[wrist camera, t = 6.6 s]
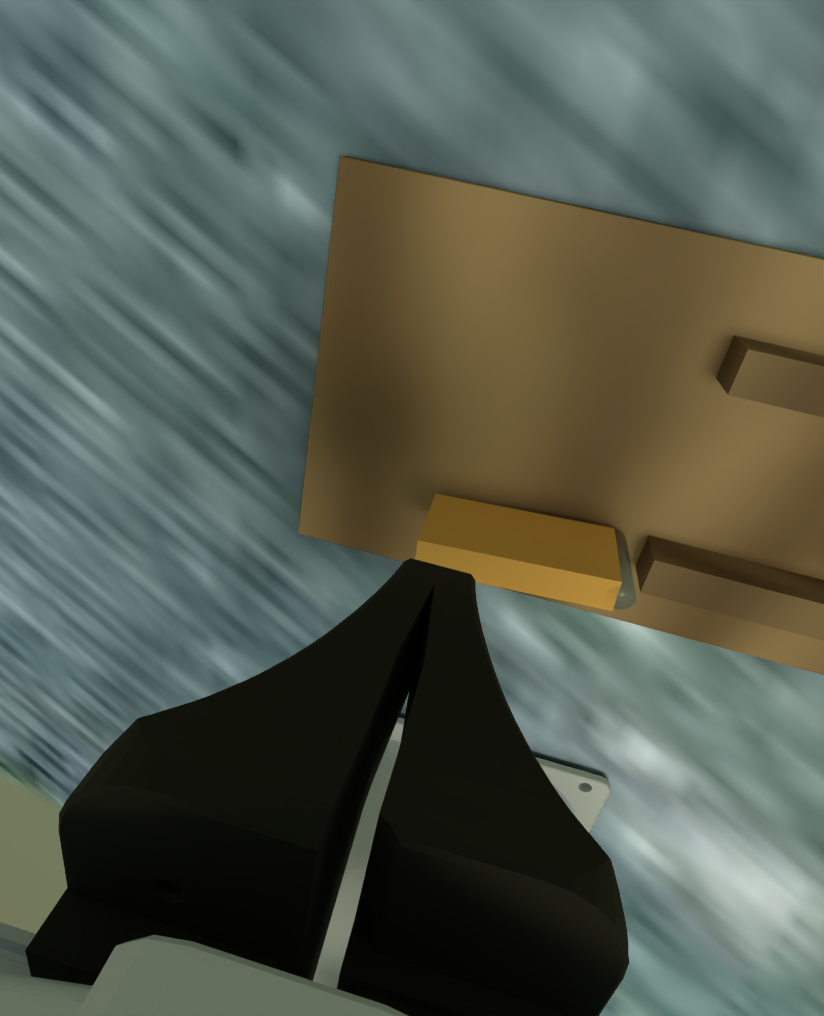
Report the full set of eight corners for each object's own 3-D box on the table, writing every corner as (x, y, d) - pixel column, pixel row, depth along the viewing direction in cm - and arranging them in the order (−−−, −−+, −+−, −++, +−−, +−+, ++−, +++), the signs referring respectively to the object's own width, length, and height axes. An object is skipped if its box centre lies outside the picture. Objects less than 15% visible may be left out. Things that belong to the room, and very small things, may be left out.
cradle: (306, 522, 24) (282, 555, 22) (348, 156, 18) (321, 155, 16) (1180, 756, 21) (1244, 818, 19) (1567, 417, 15) (1718, 456, 13)
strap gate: (621, 558, 21) (630, 615, 18) (431, 520, 22) (413, 569, 19) (630, 531, 20) (640, 585, 18) (435, 493, 21) (417, 540, 18)
